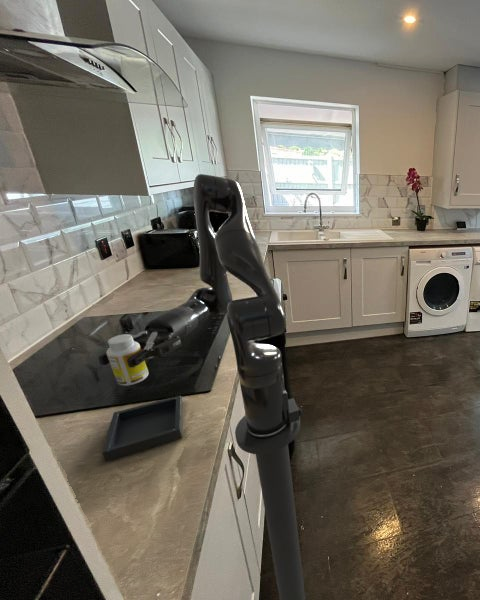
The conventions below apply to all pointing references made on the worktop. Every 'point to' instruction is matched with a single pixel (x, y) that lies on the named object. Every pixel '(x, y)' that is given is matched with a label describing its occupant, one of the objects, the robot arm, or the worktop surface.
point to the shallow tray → (144, 428)
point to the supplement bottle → (125, 360)
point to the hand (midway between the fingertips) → (115, 362)
